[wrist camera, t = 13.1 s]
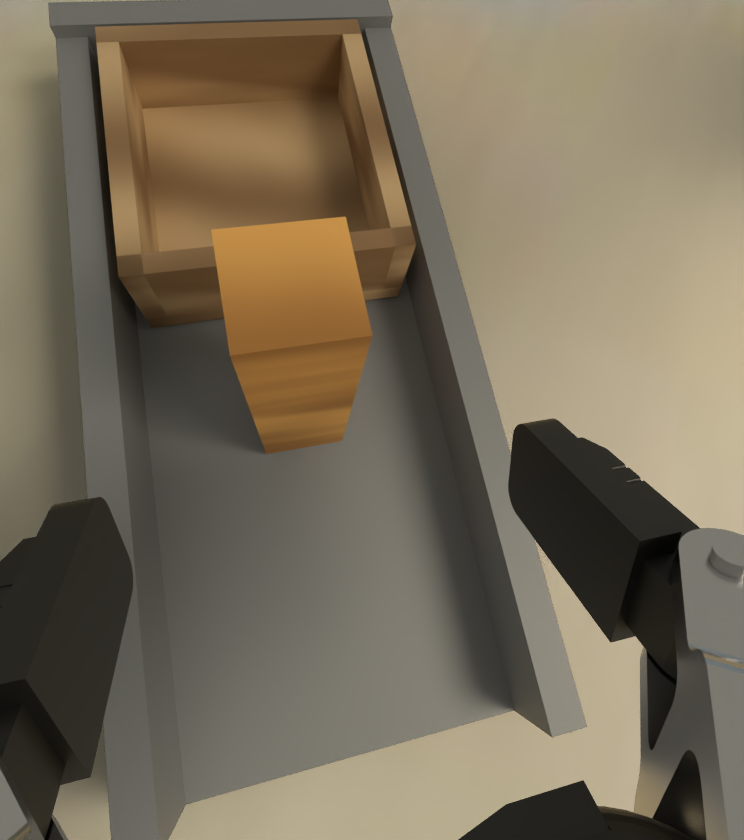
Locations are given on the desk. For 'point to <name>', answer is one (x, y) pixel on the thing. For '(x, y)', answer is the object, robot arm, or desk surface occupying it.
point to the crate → (257, 203)
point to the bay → (296, 499)
